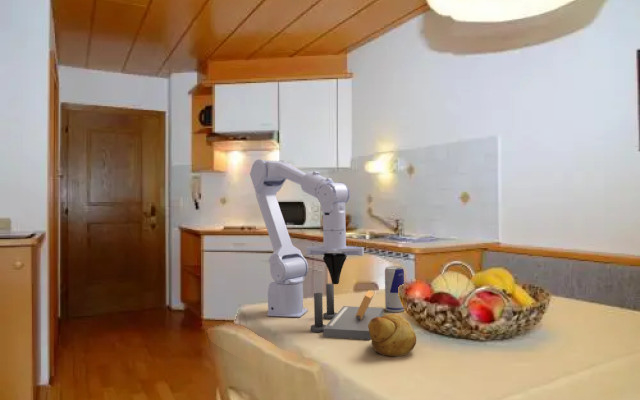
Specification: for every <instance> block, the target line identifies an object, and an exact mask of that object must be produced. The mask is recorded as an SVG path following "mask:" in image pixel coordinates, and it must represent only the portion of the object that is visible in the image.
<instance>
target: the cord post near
mask: <svg viewBox="0 0 640 400" xmlns="http://www.w3.org/2000/svg"><path fill="white" fill-rule="evenodd" d="M313 305H314V306H313V307H314V308H313V309H314V310H313V311H314V324H312V325H310V332H312V333H315V334H321V333H322V332H323V333H324V330H323V328H324V327H325V326H326V325H327V324H324V318H323V314H324V312H323V311H324V310H323V292H314V293H313Z"/></svg>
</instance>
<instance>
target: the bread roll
mask: <svg viewBox="0 0 640 400" xmlns="http://www.w3.org/2000/svg"><path fill="white" fill-rule="evenodd" d="M368 328H369V333H370V337H371V340H370V341H371V345H372V348H373V349H374V350H375V352H377V353H378V354H380V355H383V356H388V357H395V356H397V357H398V356H405V355H408V354H410V353H411V352H412V351H413V350H414V348H415V347H416V344H417V335H416V332H415V330H414V329H413V327H412V325H411V324H410V322H409V321H408V320H406V319H405V318H404V317H402V316H401V315H397V314H395V313H392V314H383V316H382V317H375V318H373V319H371V321H370V322H369V324H368Z"/></svg>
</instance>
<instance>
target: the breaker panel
mask: <svg viewBox="0 0 640 400" xmlns="http://www.w3.org/2000/svg"><path fill="white" fill-rule="evenodd" d="M359 307H360V306H351V305H350V306H345V305H343V306H342V307H341V308H340V309H339V311H337V312H336V313H337V314H336V315H335V316H334V317H333V318H332V320H329V322H327V324H325V325H326V326H325V327H324V328H323V330H324V332H323V338H331V337H333V338H334V339H335V338H336V339H347V338H351V339H352V340H363V341H365V340H367V341H368V340H369V341H372V340H371V337H370V333H369V328H368V324H369V322H370V321H371V319H373V318H375V317H382V316H384V307H375V306H374V307H372V306H371V307H369V306H368V309H367V311H366V313H365V315H364V316H363V318H362V319H361V320H357V319H356V317H355V316H356V314H357V312H358V309H359ZM351 339H350V340H351Z"/></svg>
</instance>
